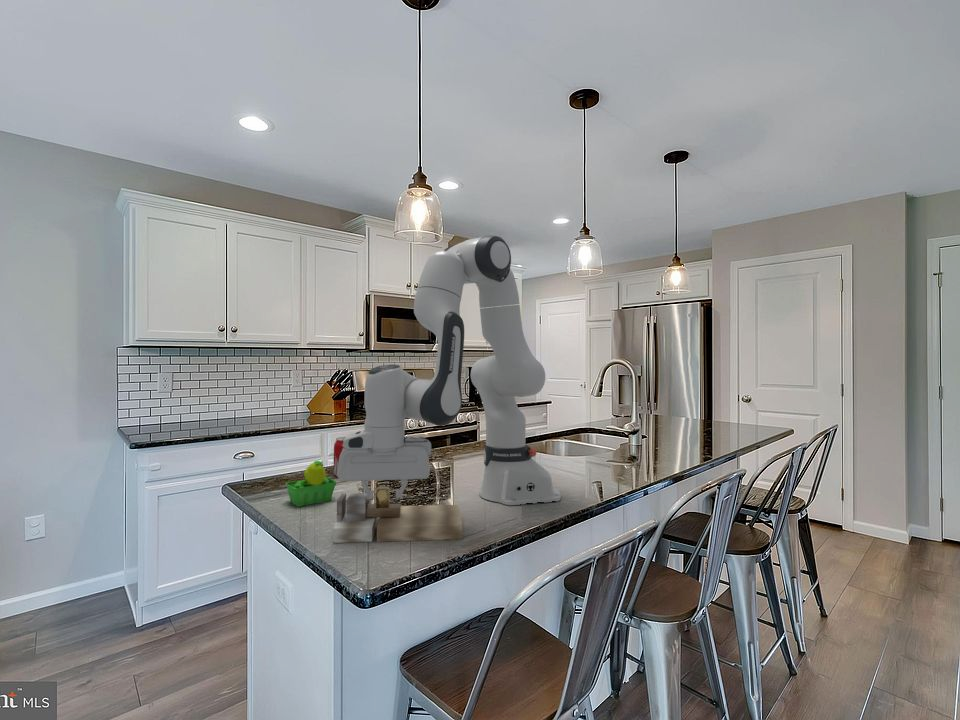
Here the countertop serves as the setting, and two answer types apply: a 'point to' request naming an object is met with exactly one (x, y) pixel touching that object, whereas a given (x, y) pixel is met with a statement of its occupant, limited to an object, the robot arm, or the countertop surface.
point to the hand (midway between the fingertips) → (384, 499)
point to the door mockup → (395, 522)
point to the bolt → (383, 505)
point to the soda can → (338, 453)
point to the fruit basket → (311, 486)
